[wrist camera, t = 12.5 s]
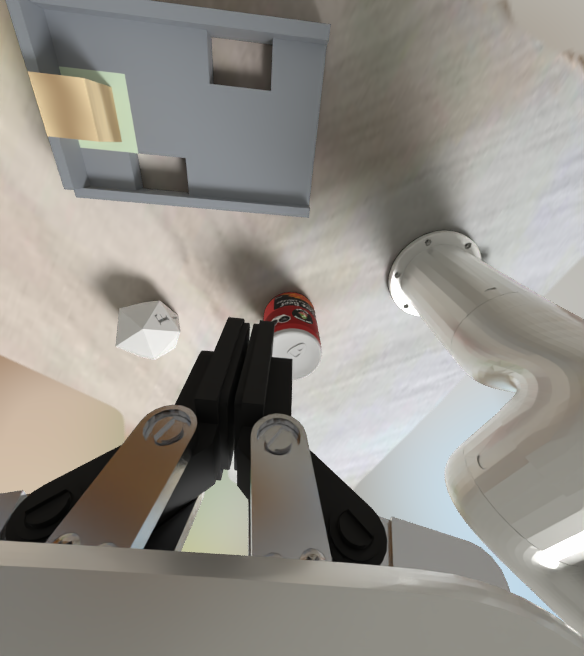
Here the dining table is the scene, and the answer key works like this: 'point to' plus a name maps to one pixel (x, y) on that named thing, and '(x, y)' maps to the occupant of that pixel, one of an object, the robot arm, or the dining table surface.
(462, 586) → the robot arm
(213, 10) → the box
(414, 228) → the dining table surface
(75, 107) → the block
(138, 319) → the die
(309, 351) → the canned food
